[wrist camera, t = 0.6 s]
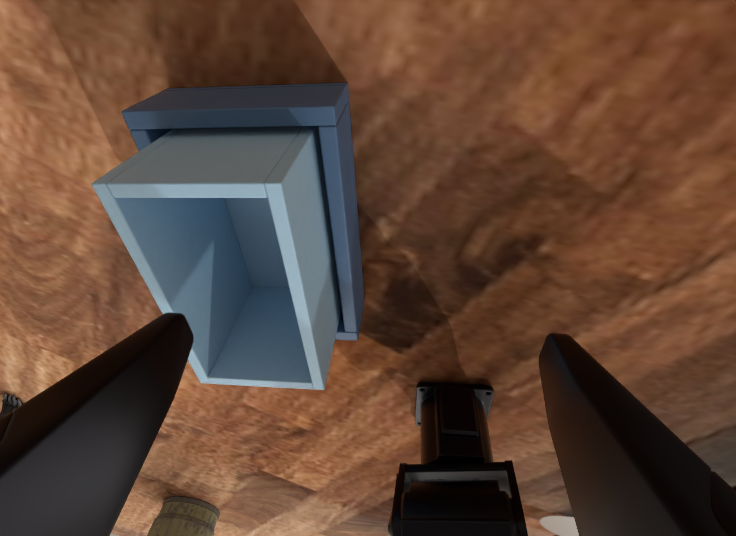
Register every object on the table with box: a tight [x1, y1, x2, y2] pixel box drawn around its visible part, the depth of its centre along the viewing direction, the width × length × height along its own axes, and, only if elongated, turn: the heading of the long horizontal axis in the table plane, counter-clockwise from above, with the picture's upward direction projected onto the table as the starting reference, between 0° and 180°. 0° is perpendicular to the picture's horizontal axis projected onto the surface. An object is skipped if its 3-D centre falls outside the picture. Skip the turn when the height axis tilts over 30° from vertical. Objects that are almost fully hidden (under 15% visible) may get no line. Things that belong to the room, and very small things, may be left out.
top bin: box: [92, 126, 342, 390], centre depth 20 cm, size 12×7×8 cm, turn 3°
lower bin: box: [122, 83, 364, 340], centre depth 22 cm, size 14×9×4 cm, turn 3°
